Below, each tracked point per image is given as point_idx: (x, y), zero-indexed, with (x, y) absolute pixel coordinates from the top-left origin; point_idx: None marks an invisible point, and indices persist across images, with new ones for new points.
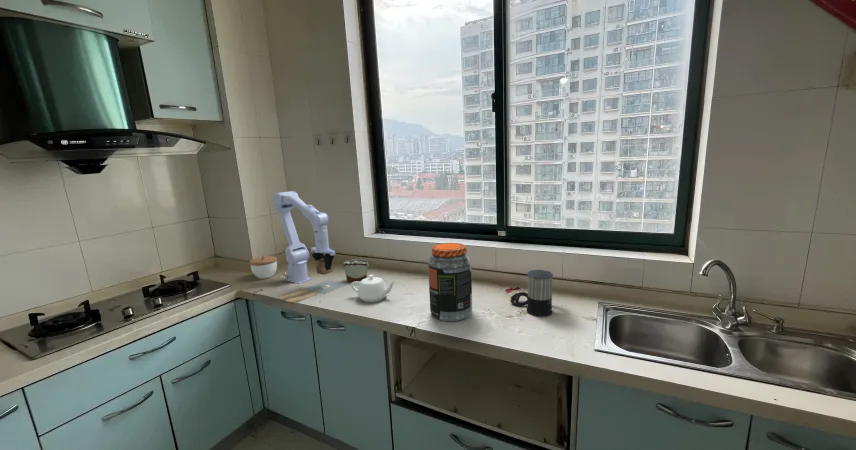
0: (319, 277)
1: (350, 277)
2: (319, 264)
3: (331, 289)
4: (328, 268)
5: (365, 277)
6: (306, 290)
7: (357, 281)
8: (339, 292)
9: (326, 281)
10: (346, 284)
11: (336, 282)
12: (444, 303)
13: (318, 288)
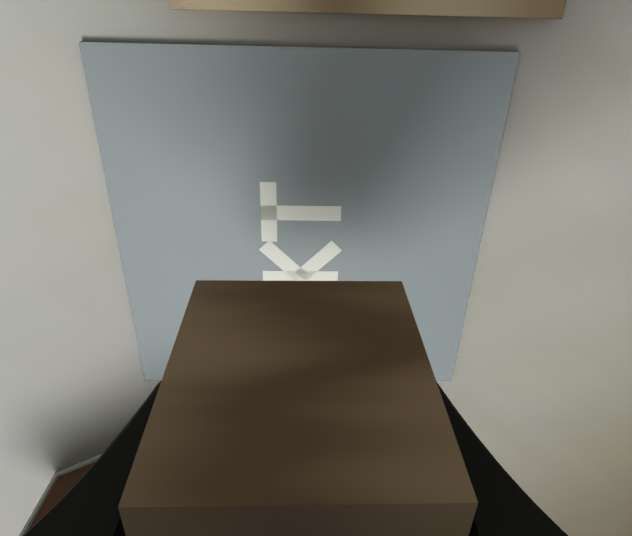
0: (596, 389)
1: None
2: (303, 423)
3: (160, 209)
4: None
5: (37, 517)
6: (422, 9)
7: None
8: (6, 196)
9: (426, 345)
10: (156, 374)
11: None
12: None
13: (335, 157)
